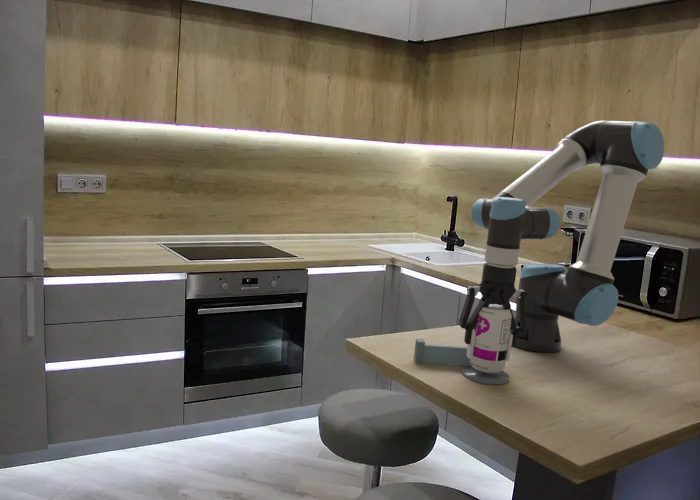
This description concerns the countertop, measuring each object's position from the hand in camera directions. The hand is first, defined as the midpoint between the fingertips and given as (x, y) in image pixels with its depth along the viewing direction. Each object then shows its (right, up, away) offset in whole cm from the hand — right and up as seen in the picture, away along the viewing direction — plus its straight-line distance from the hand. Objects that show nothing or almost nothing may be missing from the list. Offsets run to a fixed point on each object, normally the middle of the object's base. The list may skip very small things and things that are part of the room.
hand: (487, 358), depth 152 cm
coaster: (0, -4, +1) cm, 4 cm away
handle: (-7, -3, +7) cm, 10 cm away
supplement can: (0, -2, 0) cm, 2 cm away
